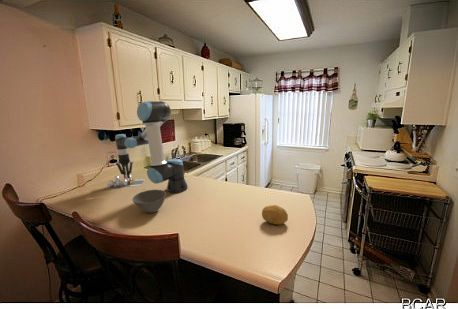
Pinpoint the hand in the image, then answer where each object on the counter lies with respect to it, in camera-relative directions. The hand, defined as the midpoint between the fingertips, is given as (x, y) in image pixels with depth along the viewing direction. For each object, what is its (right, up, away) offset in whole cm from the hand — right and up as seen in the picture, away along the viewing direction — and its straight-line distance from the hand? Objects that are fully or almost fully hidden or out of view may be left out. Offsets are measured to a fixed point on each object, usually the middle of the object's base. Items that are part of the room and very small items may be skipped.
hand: (127, 181), depth 176 cm
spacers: (-5, -3, 0) cm, 6 cm away
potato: (+107, -14, -63) cm, 125 cm away
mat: (-2, -2, 0) cm, 3 cm away
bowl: (+36, -12, -45) cm, 59 cm away
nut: (+3, -1, 0) cm, 3 cm away
